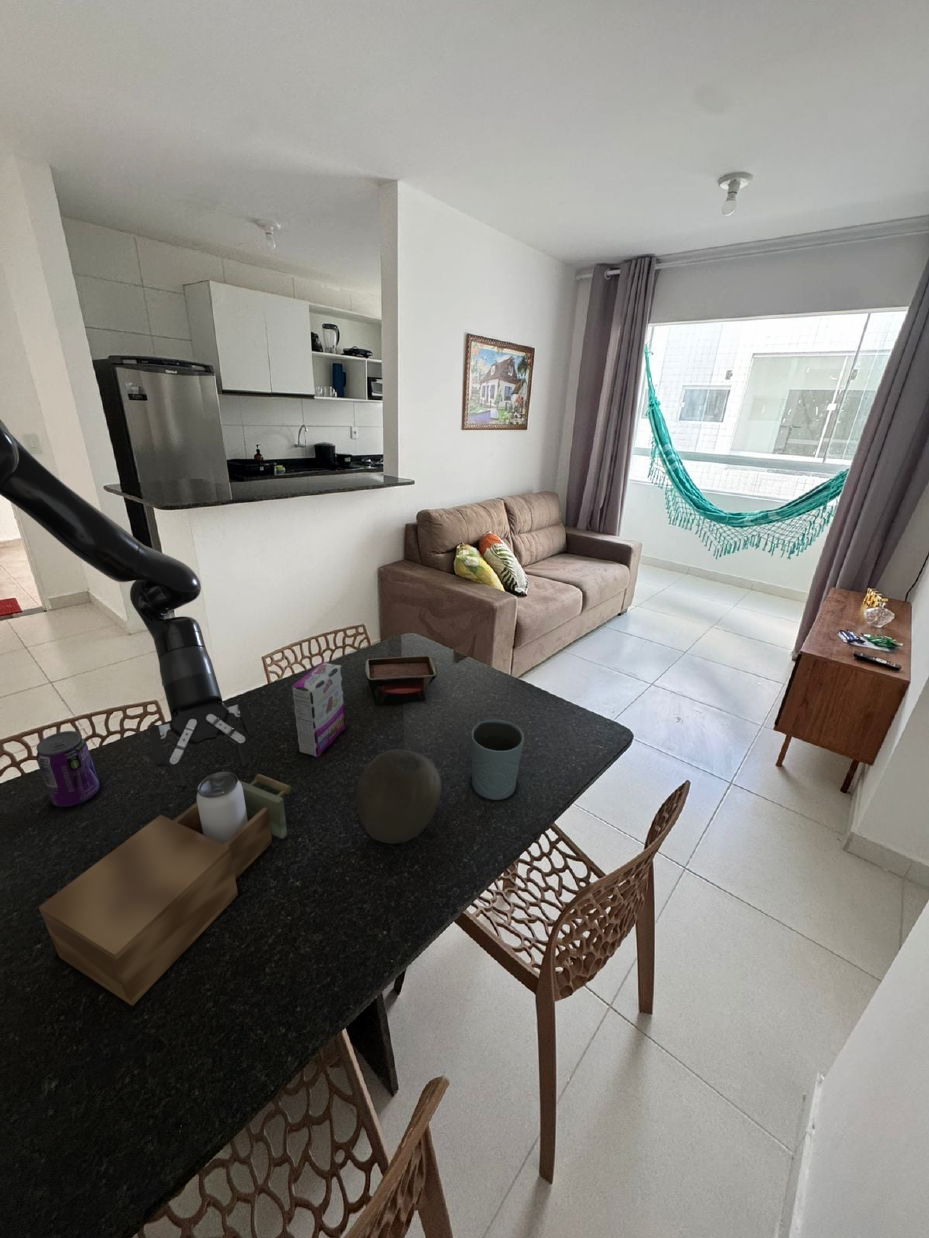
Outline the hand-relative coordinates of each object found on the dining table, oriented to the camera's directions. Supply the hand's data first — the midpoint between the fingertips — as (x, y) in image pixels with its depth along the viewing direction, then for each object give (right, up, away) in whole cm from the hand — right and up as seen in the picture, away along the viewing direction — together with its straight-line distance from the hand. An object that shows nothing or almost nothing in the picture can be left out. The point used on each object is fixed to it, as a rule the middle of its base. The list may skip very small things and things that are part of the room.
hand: (215, 778), depth 79 cm
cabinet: (-5, -18, -7) cm, 20 cm away
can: (0, -12, +4) cm, 13 cm away
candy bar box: (+7, -2, +32) cm, 33 cm away
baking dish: (+22, +6, +52) cm, 57 cm away
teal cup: (+44, -8, +23) cm, 50 cm away
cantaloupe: (+27, -13, +11) cm, 32 cm away
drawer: (0, -12, +5) cm, 14 cm away
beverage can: (-32, -8, +14) cm, 36 cm away
